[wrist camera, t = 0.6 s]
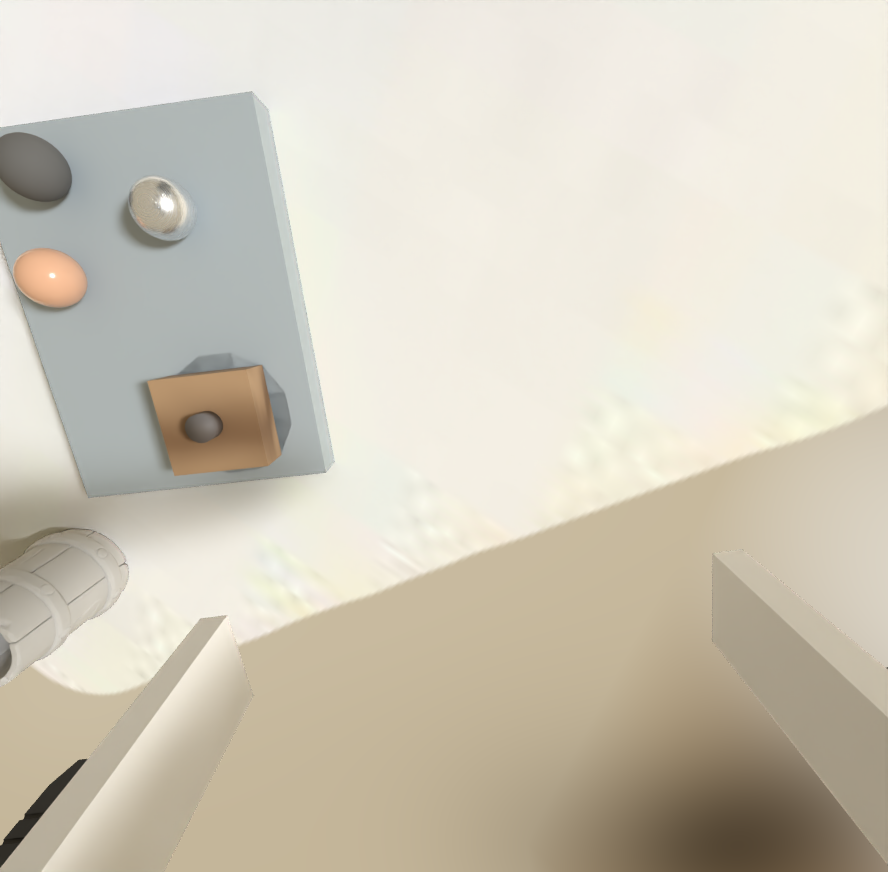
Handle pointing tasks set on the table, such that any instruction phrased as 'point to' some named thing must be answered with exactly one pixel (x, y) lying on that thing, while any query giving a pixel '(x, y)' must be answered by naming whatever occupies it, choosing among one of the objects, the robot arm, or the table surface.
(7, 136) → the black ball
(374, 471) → the table surface
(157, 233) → the steel ball
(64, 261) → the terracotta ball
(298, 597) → the table surface
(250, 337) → the board
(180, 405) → the cover
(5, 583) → the mug
